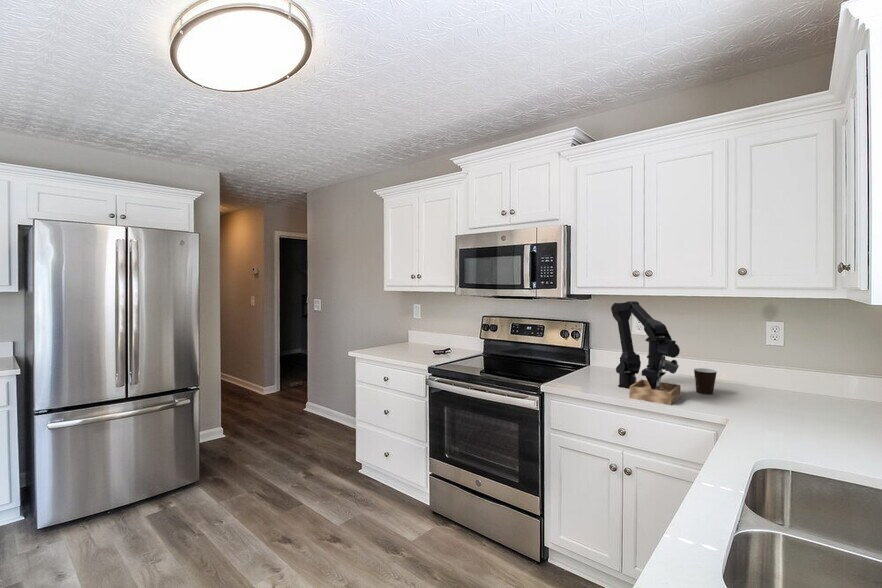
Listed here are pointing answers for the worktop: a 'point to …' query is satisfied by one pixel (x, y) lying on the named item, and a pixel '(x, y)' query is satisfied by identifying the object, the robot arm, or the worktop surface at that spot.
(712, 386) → the coffee mug
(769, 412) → the worktop surface
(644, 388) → the tray
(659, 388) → the peg
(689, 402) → the worktop surface
